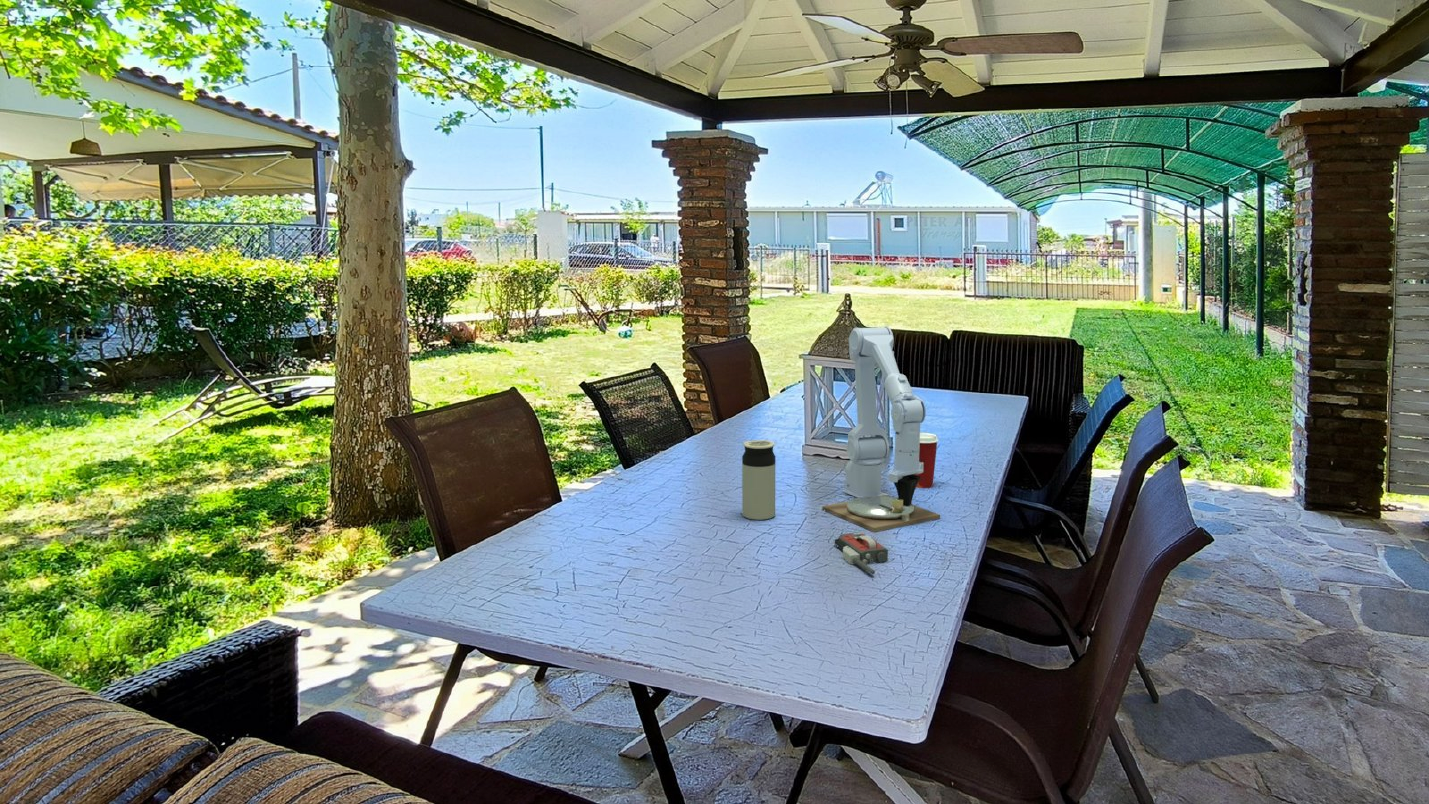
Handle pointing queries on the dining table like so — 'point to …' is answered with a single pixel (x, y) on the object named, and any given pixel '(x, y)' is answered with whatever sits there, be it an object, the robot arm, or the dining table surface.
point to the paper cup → (927, 459)
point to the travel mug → (758, 480)
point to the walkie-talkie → (861, 550)
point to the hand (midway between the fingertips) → (905, 505)
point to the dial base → (881, 524)
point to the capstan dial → (879, 507)
